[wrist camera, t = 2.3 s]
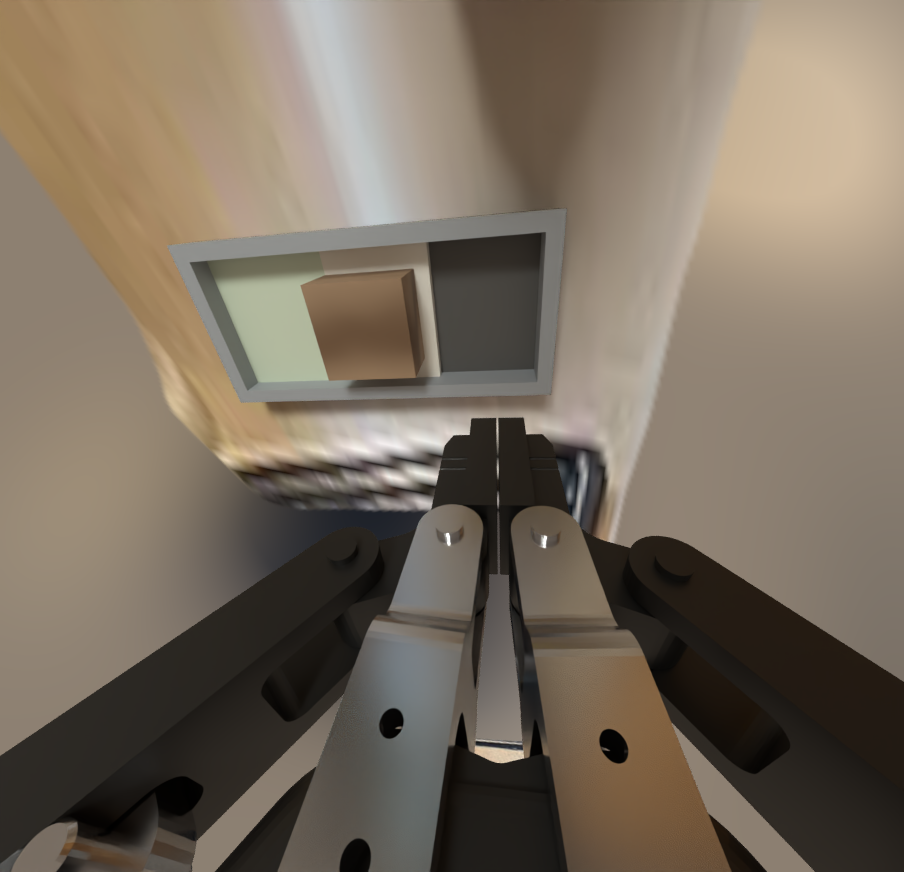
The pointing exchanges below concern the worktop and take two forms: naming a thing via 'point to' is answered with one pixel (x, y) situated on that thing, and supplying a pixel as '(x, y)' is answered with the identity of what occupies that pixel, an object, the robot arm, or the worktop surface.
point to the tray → (438, 293)
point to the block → (366, 324)
